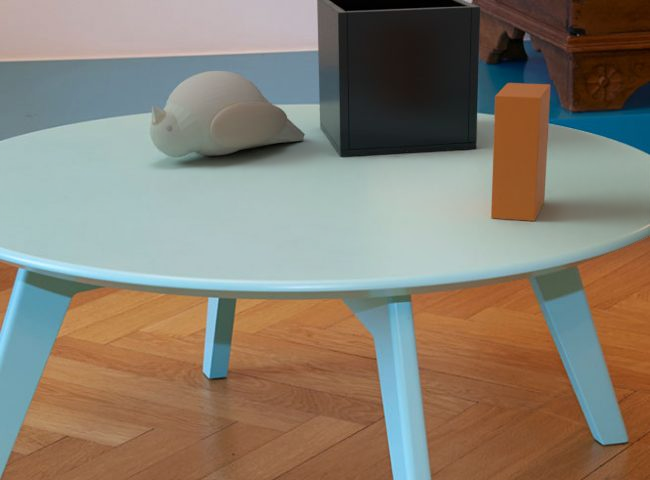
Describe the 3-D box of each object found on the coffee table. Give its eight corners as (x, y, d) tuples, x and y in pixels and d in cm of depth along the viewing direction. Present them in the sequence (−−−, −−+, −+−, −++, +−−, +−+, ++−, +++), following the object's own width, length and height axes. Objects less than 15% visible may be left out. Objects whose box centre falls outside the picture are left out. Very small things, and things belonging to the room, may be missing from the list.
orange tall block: (544, 202, 87) (550, 84, 84) (534, 221, 83) (540, 97, 79) (502, 199, 88) (507, 82, 85) (490, 218, 83) (495, 95, 80)
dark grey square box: (442, 120, 115) (444, -8, 110) (476, 149, 104) (480, 6, 99) (320, 127, 114) (316, -3, 109) (340, 156, 102) (338, 12, 97)
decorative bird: (129, 159, 103) (122, 76, 100) (263, 130, 113) (260, 53, 110) (188, 176, 97) (182, 87, 94) (324, 143, 107) (322, 63, 104)
